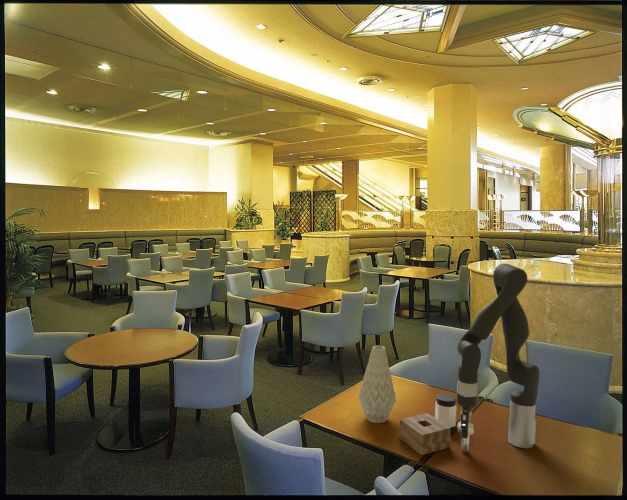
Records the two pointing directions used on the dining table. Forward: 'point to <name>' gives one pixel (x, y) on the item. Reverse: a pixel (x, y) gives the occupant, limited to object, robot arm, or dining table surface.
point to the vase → (377, 387)
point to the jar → (446, 409)
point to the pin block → (424, 433)
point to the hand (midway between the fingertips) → (465, 433)
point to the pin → (470, 431)
